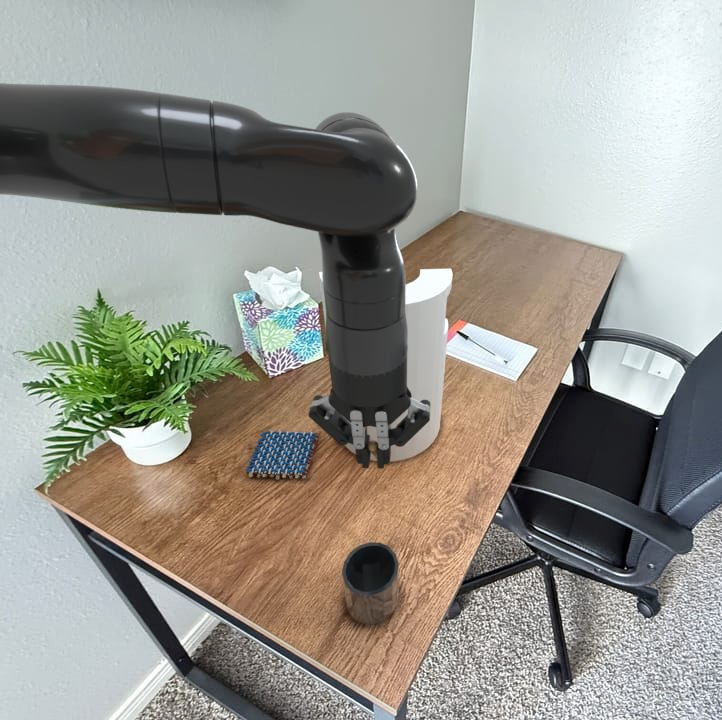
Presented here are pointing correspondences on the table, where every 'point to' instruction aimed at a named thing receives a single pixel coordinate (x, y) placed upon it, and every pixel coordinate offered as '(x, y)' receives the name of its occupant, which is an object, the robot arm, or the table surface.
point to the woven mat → (283, 454)
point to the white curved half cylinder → (421, 355)
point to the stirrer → (373, 447)
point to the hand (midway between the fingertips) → (373, 462)
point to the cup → (371, 582)
